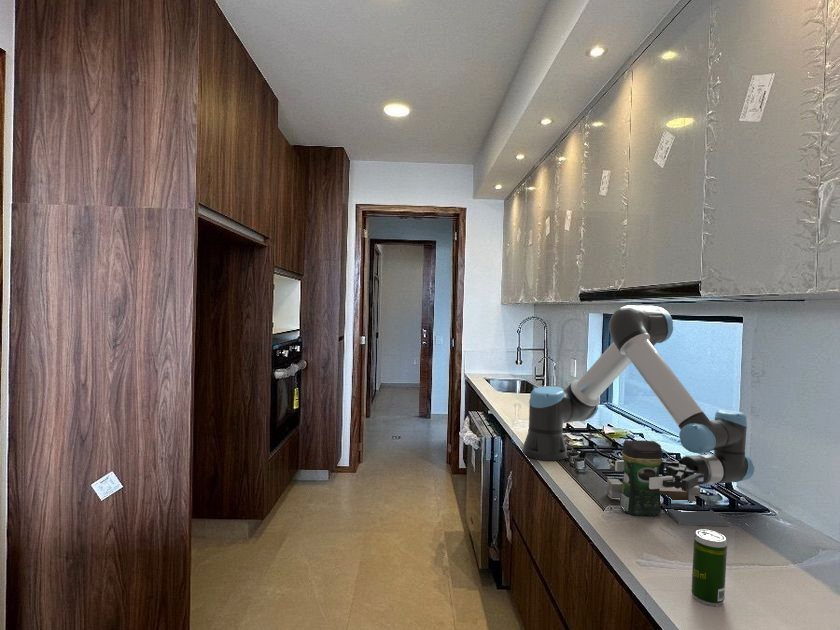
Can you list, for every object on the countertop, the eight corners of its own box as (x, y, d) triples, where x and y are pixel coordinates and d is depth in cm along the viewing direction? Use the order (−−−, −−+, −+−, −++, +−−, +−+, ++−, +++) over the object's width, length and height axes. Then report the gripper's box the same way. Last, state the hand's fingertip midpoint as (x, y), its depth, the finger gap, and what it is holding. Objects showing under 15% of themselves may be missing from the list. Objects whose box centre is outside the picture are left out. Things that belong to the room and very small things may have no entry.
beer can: (728, 599, 99) (731, 536, 99) (717, 610, 96) (721, 544, 95) (697, 587, 103) (700, 526, 103) (686, 597, 99) (689, 534, 99)
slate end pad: (657, 503, 146) (657, 501, 145) (702, 505, 145) (702, 502, 145) (679, 524, 133) (679, 521, 132) (728, 526, 132) (728, 523, 132)
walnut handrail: (606, 494, 151) (607, 478, 151) (692, 498, 151) (693, 482, 151) (611, 499, 147) (612, 483, 147) (699, 503, 147) (700, 487, 147)
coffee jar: (651, 505, 144) (654, 437, 143) (664, 517, 136) (668, 445, 136) (615, 504, 144) (618, 436, 144) (626, 516, 136) (630, 444, 136)
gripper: (737, 500, 133) (665, 507, 127) (665, 468, 157) (603, 472, 151) (739, 470, 133) (667, 476, 127) (667, 443, 157) (604, 446, 151)
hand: (632, 474), depth 139 cm, fingers open, 13 cm apart
